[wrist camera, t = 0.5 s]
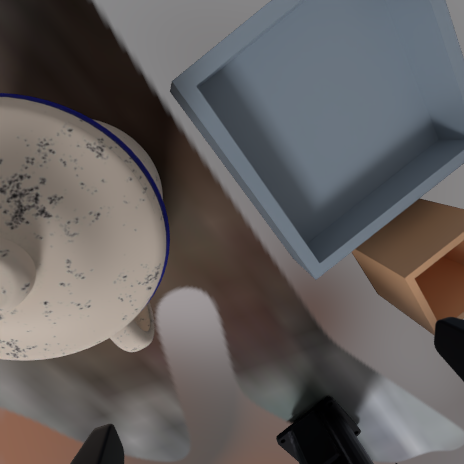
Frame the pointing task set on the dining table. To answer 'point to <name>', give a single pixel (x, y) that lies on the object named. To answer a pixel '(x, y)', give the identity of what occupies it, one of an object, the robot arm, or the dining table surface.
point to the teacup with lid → (75, 233)
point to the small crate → (419, 262)
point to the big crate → (332, 115)
